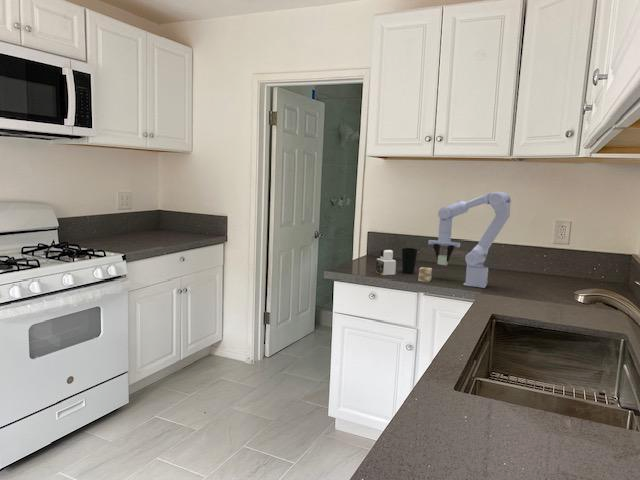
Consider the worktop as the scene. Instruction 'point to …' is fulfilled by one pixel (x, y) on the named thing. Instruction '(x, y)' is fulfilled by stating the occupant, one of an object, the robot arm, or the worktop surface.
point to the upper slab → (425, 271)
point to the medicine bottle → (386, 263)
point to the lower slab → (424, 278)
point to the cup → (408, 260)
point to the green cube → (442, 260)
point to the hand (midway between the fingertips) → (442, 260)
